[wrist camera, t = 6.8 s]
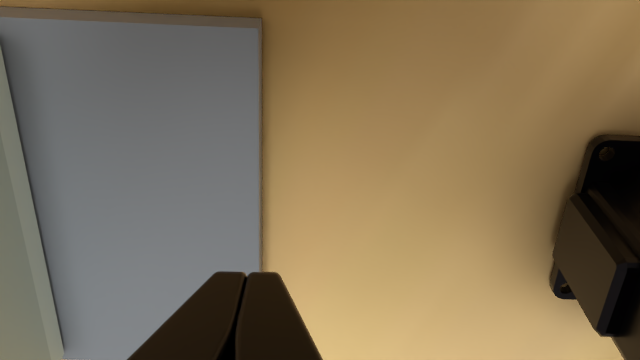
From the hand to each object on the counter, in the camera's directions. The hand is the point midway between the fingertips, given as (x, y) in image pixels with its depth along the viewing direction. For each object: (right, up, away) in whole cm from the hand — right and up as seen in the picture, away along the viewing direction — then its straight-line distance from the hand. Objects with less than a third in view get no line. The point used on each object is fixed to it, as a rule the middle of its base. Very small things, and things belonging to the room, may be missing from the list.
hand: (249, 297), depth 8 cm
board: (-10, +1, +13) cm, 16 cm away
